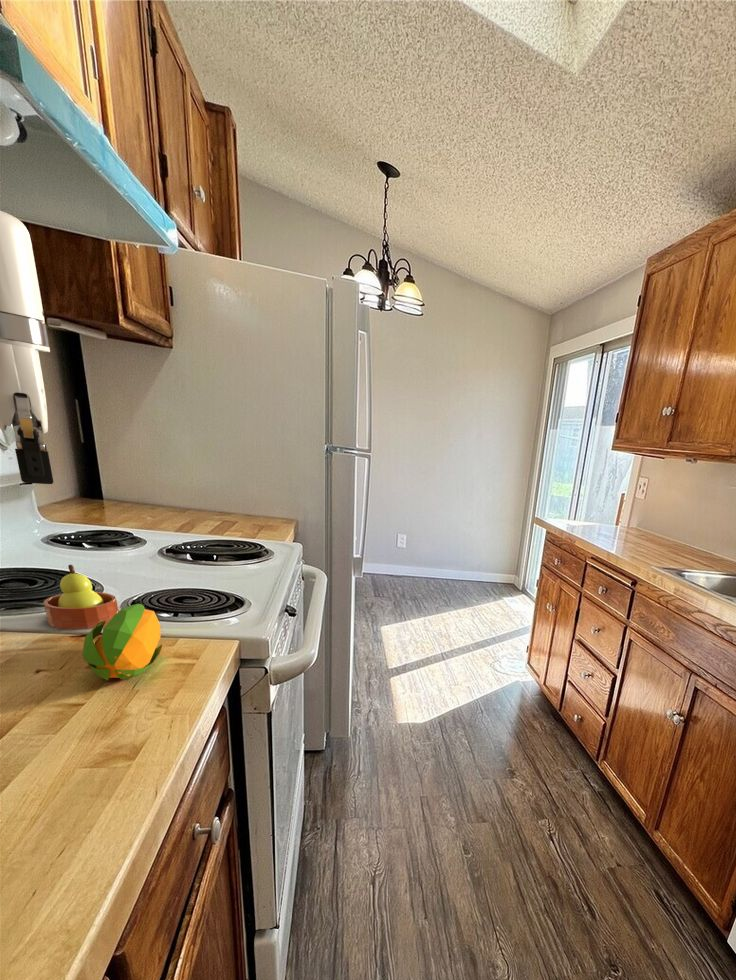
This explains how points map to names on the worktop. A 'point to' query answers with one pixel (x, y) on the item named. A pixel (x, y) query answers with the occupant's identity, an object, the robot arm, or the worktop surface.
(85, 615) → the bowl
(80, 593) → the pear
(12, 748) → the worktop surface
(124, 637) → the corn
